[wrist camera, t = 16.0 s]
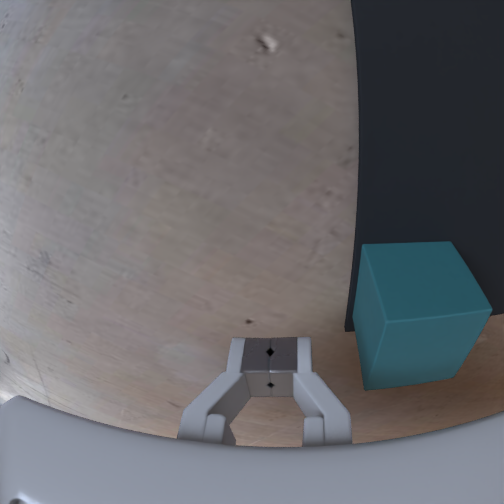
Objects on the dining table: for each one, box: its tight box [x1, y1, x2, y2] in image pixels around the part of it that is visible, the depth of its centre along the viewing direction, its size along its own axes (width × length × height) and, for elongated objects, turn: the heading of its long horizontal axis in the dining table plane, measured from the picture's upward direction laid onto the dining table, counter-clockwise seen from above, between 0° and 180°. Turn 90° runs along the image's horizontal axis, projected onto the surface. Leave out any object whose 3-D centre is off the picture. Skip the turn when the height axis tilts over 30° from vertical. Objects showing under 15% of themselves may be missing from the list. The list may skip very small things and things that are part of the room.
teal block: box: [352, 241, 492, 391], centre depth 12 cm, size 4×4×4 cm
